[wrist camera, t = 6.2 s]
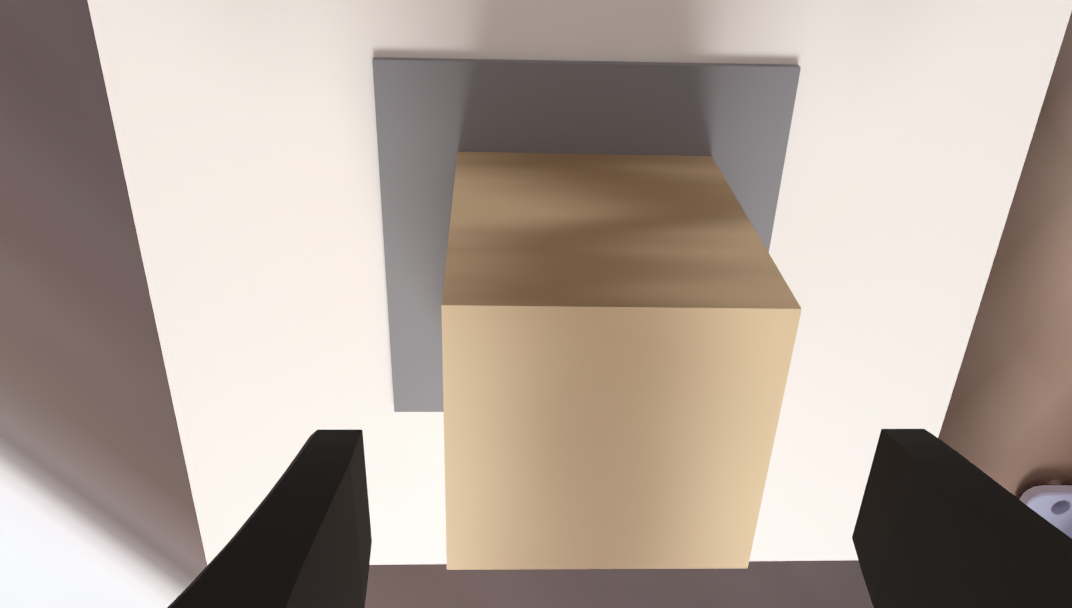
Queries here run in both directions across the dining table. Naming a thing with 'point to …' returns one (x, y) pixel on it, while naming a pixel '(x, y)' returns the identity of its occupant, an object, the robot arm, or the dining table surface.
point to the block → (607, 364)
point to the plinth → (567, 128)
